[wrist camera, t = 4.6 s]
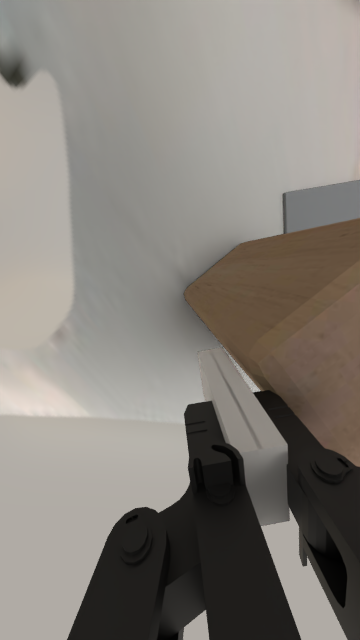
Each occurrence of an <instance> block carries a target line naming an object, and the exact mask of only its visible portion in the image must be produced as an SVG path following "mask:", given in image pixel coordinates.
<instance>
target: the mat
mask: <svg viewBox="0 0 360 640" xmlns="http://www.w3.org/2000/svg"><path fill="white" fill-rule="evenodd" d="M283 206H284V234H286V233H291V232H296V231H300V230H305V229H310V228H315V227H319V226H324V225H329V224H333V223H338V222H343V221H348V220H352V219H357V218H360V180H357V181H351V182H345V183H339V184H333V185H327V186H321V187H315V188H309V189H303V190H297V191H292V192H286V193H284V194H283Z"/></svg>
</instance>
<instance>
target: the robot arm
mask: <svg viewBox="0 0 360 640" xmlns="http://www.w3.org/2000/svg"><path fill="white" fill-rule="evenodd" d="M198 359H199V366H200V373H201V380H202V387H203V394H204V398H205V401H206V402H201V403H195V404H189V405H188V406H187V408H186V411H185V413H184V418H185V426H186V434H187V442H188V451H189V464H188V471H189V476H190V485H189V487H188V489H187V491H186V493H185V494H184V495H183V496H182V497H181V499H180V500H179V501H177V502H176V503H174V504H173V505H172V506H170V507H168V508H166V509H165V510H163V511H161V512H159V513H158V512H156V510H153V509H150V508H148V507H142V508H135V509H133V510H132V511H130V512H128V513H126V514H124V516H123V517H122V518H121V519H120V520H119V521H118V522H117V523H116V524H115V525H114V527H113V529H112V531H111V533H110V534H109V536H108V538H107V541H106V543H105V546H104V548H103V551H102V553H101V556H100V558H99V561H98V563H97V566H96V569H95V571H94V573H93V576H92V578H91V581H90V584H89V586H88V589H87V591H86V594H85V596H84V599H83V601H82V604H81V606H80V609H79V611H78V614H77V616H76V619H75V621H74V624H73V626H72V629H71V632H70V634H69V637H68V639H67V640H183V632H184V627H185V626H186V625H187V624H189V623H190V622H191V621H192V620H193V619H195V618H196V617H197V616H198V615H200V614H201V613H202V612H203V611H204V610H206V614H207V622H208V630H209V640H301V638H300V635H299V632H298V629H297V627H296V624H295V621H294V618H293V615H292V613H291V610H290V607H289V604H288V601H287V599H286V596H285V593H284V590H283V587H282V585H281V582H280V579H279V576H278V573H277V571H276V568H275V565H274V563H273V559H272V557H271V554H270V551H269V548H268V546H267V543H266V540H265V537H264V534H263V532H262V529H261V526H263V525H270V524H275V523H280V522H285V521H289V519H290V518H289V508H290V509H291V511H292V513H293V515H294V517H295V519H296V521H297V523H298V525H299V555H300V559H301V562H302V565H303V566H307V556H308V559H309V561H310V563H311V565H312V567H313V569H314V571H315V573H316V575H317V577H318V579H319V582H320V583H321V586H322V587H323V590H324V592H325V594H326V596H327V598H328V600H329V602H330V604H331V606H332V608H333V610H334V613H335V615H336V616H337V619H338V621H339V623H340V625H341V627H342V629H343V631H344V633H345V635H346V637H347V639H348V640H360V467H358V466H355V465H354V464H353V463H352V462H350V461H349V460H348V459H347V458H346V457H345V456H343V455H341V454H339V453H337V452H335V451H333V450H329V449H326V448H324V447H323V446H322V445H321V444H320V442H319V441H318V440H317V439H316V438H315V437H314V435H313V434H312V433H311V432H310V431H309V430H308V428H307V427H306V426H305V425H304V424H303V423H302V421H301V420H300V419H299V418H298V417H297V416H296V415H295V414H294V412H293V411H292V410H291V409H290V407H288V405H287V404H286V403H285V401H284V400H283V399H282V398H281V397H280V396H279V395H277V394H275V393H273V392H272V391H270V390H265V391H260V392H254V393H253V392H252V391H251V389H250V388H249V386H248V385H247V383H246V382H245V380H244V379H243V377H242V376H241V374H240V373H239V371H238V370H237V368H236V367H235V365H234V364H233V362H232V361H231V359H230V358H229V357H228V355H227V354H226V352H225V351H224V349H223V348H216V349H210V350H204V351H198Z"/></svg>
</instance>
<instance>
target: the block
mask: <svg viewBox="0 0 360 640" xmlns="http://www.w3.org/2000/svg"><path fill="white" fill-rule="evenodd" d="M184 296H185V300H186V301H187V302H188V304H189V305H190V306H191V307H192V308H193V310H194V311H195V312H196V313H197V315H198V316H199V317H200V318H201V320H202V321H203V322H204V323H205V324H206V326H207V327H208V328H209V329H210V331H211V332H212V333H213V334H214V336H215V337H216V338H217V339H218V340H219V342H220V343H221V344H222V345H223V347H224V348H225V349H226V350H227V351H228V352H229V354H230V355H231V356H232V357H233V358H234V360H235V361H236V362H237V363H238V364H239V365H240V367H241V368H242V369H243V370H244V371H245V373H246V374H247V375H248V376H249V377H250V378H251V380H252V381H253V382H254V383H255V384H256V386H257V387H258V388H259V389H260V390H261V391H265V390H270V391H272V392H273V393H275V394H277V395H279V396H280V397H281V398H282V399H283V400H284V401H285V403H286V404H287V405H288V407H290V409H291V410H292V411H293V412H294V414H295V415H296V416H297V417H298V418H299V419H300V420H301V421H302V423H303V424H304V425H305V426H306V427H307V428H308V430H309V431H310V432H311V433H312V434H313V435H314V437H315V438H316V439H317V440H318V441H319V442H320V444H321V445H322V446H323V447H324V448H326V449H329V450H333V451H335V452H337V453H339V454H341V455H343V456H345V457H346V458H347V459H348V460H349V461H350V462H352V463H353V464H354V465H355V466H358V467H360V218H357V219H352V220H348V221H343V222H338V223H333V224H329V225H324V226H319V227H315V228H310V229H305V230H300V231H296V232H291V233H286V234H281V235H277V236H272V237H267V238H262V239H258V240H253V241H248V242H244V243H241V244H239V245H238V246H237V247H236V248H235V249H233V250H232V251H231V252H230V253H229V254H227V255H226V256H225V257H224V258H222V259H221V260H220V261H219V262H218V263H216V264H215V265H214V266H213V267H212V268H210V269H209V270H208V271H207V272H206V273H204V274H203V275H202V276H201V277H200V278H198V279H197V280H196V281H195V282H193V283H192V284H191V285H190V286H189V287H187V289H186V290H185V292H184Z"/></svg>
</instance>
